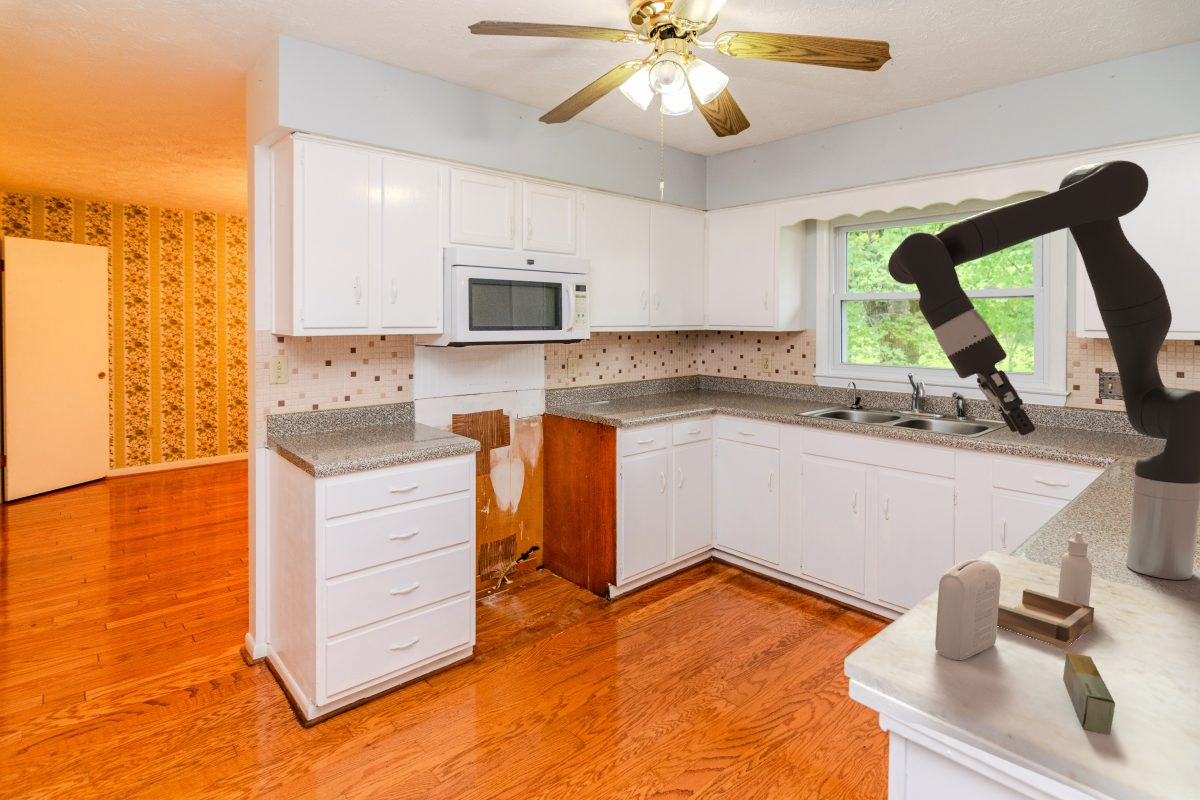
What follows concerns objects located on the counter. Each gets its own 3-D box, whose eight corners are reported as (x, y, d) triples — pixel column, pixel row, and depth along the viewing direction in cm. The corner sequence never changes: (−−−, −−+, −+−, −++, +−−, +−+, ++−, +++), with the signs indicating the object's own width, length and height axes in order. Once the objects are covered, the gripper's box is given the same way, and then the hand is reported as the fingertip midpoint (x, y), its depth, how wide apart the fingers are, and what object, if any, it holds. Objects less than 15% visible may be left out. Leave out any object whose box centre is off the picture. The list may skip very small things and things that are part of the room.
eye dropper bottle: (1092, 604, 107) (1098, 531, 105) (1087, 615, 102) (1093, 539, 101) (1059, 597, 110) (1065, 525, 108) (1053, 607, 105) (1059, 533, 104)
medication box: (1112, 738, 72) (1117, 703, 72) (1082, 730, 74) (1086, 696, 73) (1087, 684, 83) (1090, 654, 83) (1061, 679, 84) (1064, 649, 84)
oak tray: (1024, 607, 106) (1026, 588, 105) (1092, 627, 98) (1094, 607, 98) (994, 626, 99) (996, 606, 99) (1065, 649, 92) (1066, 628, 91)
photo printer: (969, 633, 97) (975, 550, 95) (1000, 644, 93) (1006, 559, 92) (929, 652, 91) (934, 564, 90) (961, 665, 88) (966, 574, 86)
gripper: (998, 328, 101) (1058, 422, 98) (986, 334, 114) (1039, 418, 112) (949, 353, 104) (1006, 445, 101) (943, 356, 117) (993, 438, 114)
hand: (1023, 431), depth 106 cm, fingers open, 8 cm apart
